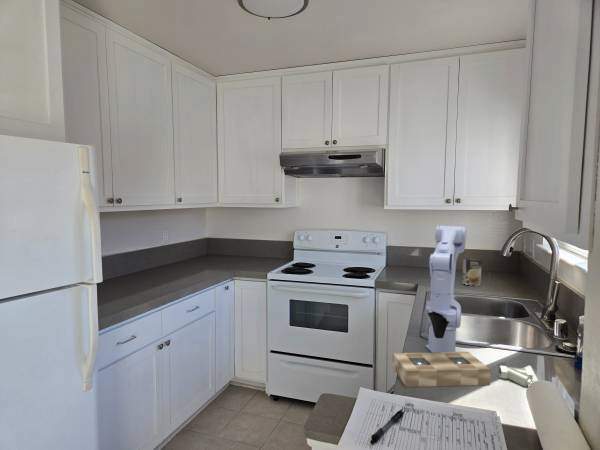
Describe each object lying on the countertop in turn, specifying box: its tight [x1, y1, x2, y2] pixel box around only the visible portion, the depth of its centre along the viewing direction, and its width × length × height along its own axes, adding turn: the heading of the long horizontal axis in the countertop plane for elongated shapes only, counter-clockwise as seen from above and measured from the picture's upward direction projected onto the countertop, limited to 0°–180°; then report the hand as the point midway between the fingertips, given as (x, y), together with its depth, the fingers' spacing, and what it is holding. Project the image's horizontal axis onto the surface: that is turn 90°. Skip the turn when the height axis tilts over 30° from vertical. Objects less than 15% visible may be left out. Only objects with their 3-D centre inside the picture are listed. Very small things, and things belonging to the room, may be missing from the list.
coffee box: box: [461, 258, 483, 286], centre depth 227 cm, size 9×6×16 cm
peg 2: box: [451, 358, 467, 364], centre depth 109 cm, size 4×4×4 cm
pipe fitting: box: [497, 365, 534, 388], centre depth 106 cm, size 8×4×7 cm
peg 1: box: [412, 358, 427, 365], centre depth 108 cm, size 4×4×4 cm
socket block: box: [391, 351, 492, 388], centre depth 109 cm, size 12×24×4 cm, turn 94°
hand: (438, 337), depth 111 cm, fingers closed
